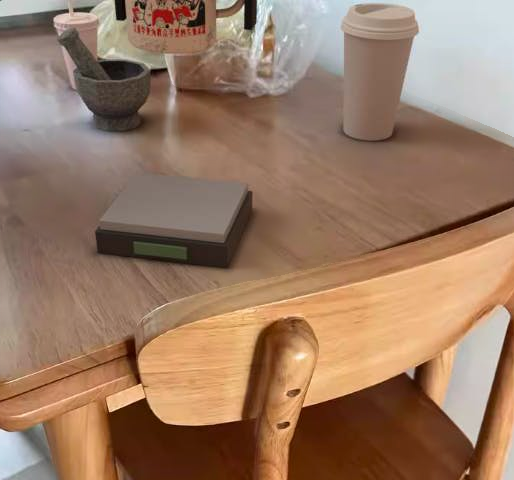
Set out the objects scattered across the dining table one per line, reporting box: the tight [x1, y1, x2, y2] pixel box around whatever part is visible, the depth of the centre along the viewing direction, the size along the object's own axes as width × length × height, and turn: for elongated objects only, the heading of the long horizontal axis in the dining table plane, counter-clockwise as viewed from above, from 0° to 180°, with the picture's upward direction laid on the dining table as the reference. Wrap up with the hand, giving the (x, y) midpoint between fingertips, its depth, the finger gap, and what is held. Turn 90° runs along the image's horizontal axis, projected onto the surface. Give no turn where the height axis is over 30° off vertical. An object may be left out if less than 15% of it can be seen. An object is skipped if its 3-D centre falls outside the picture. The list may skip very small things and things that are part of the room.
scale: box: [94, 172, 253, 269], centre depth 74 cm, size 13×12×3 cm
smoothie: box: [53, 0, 101, 91], centre depth 105 cm, size 6×6×14 cm
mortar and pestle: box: [57, 28, 152, 132], centre depth 95 cm, size 11×9×12 cm
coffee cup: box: [340, 2, 420, 142], centre depth 93 cm, size 10×10×15 cm
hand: (186, 22), depth 71 cm, fingers closed on teacup with lid, 12 cm apart
